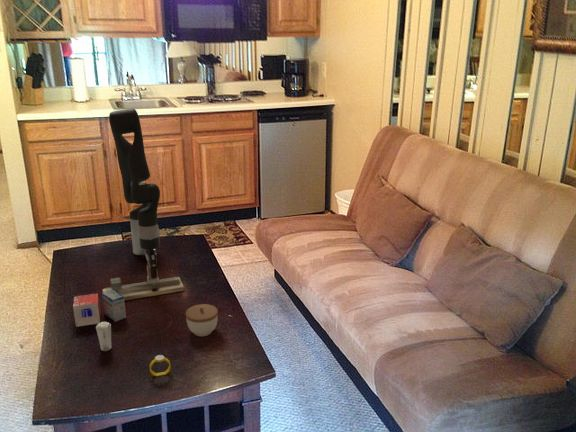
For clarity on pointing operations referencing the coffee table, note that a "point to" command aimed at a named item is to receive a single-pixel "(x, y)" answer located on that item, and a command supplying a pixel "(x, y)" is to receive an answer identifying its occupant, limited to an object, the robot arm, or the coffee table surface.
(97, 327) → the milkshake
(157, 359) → the gold diamond ring
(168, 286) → the bolt-hole plate
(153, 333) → the coffee table surface
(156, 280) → the block
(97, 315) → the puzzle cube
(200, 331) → the lidded jar
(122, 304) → the medicine box
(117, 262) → the coffee table surface
